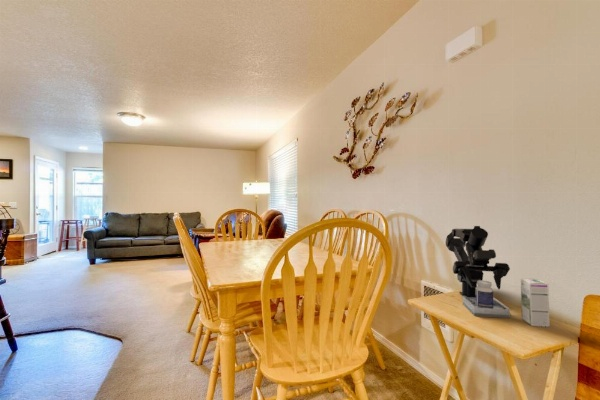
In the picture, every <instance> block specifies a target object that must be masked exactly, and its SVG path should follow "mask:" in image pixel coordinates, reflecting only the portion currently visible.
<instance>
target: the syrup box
mask: <svg viewBox="0 0 600 400" xmlns="http://www.w3.org/2000/svg"><path fill="white" fill-rule="evenodd" d="M549 294H550V293H549V283H547V282H545V281H542V280H540V279H536V278H521V279H520V296H521V297H520V298H521V301H520V302H521V304H520V305H521V320H523V321H524V322H525V323H527V324H528V325H530V326H532V327H541V326H542V328H550V327H551V325H550V324H551V323H550V298H549V296H550V295H549ZM545 326H546V327H545Z"/></svg>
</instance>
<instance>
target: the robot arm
mask: <svg viewBox="0 0 600 400" xmlns="http://www.w3.org/2000/svg"><path fill="white" fill-rule="evenodd" d="M488 236H489V232H488V231H487V230H486V229H484V228H482V227H481V226H480V225H474V226H473V228H452V229H451V232H450V233H449V234H447V236H446V237H445V247H446V248H447V249H448V251H450V252H453V253H454V255H455V257H456V260H455V261H454V263H453V265H452V274H454V275H456V276H457V277H456V278H457V281H458V282H460V283H461V291H459V292H458V293H459V294H460V295H461V296H462V297H463V296H467V297H475V298H476V287H477V286H478V285H477V281H484V280H483V278H484V272H491V273H493V280H494V283H495V286H496V288H497V289H498V290H500V289H501V283H502V278H504V277H506V276H507V275H508V273H509V271H510V270H511V268H510V265H509V264H508V263H506V262H495V263H494V265H489V264H490V260H492V259H495V258H496V257H497V253H496V250H495V249H490V248H489V249H488V250H484V249H483V246H484V245H485V244H486V243H485V242H486V241H487V238H488Z"/></svg>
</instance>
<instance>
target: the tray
mask: <svg viewBox="0 0 600 400" xmlns="http://www.w3.org/2000/svg"><path fill="white" fill-rule="evenodd" d="M462 305H463V306H464V307H465V308H466V309H467V310H468V311H469V312H470V313H471V314H472V315H473V316H475V317H486V318H487V317H488V318H499V319H500V318H504V319H510V318H511V315H510V313H511V312H510V311H511V310H510V309H511V308H510V307H508V306H507V305H506V304H504V303H503V302H501V301H500V300H498V299H497V298H495V297H494V296H493V308H492V307H478V306H477V305H476V298H475V297H467V296H462Z"/></svg>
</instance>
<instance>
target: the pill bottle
mask: <svg viewBox="0 0 600 400" xmlns="http://www.w3.org/2000/svg"><path fill="white" fill-rule="evenodd" d="M492 285H493V284H492V282H490V281H487V280H482V281H477V287H476V305H477V306H478V307H492V308H493V297H494V289H493V288H492Z"/></svg>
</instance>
